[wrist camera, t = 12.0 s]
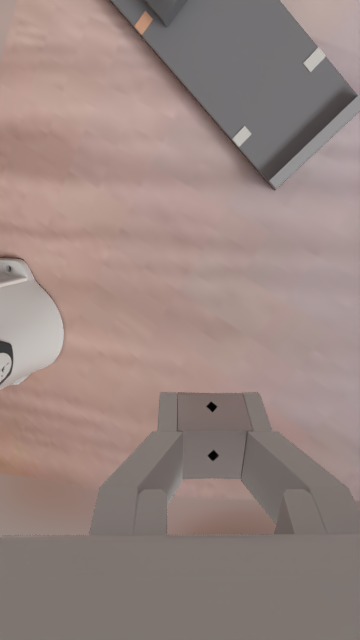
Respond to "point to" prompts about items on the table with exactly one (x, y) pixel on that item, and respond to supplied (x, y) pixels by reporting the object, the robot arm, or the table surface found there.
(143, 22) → the track board
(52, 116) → the table surface
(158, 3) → the fader
